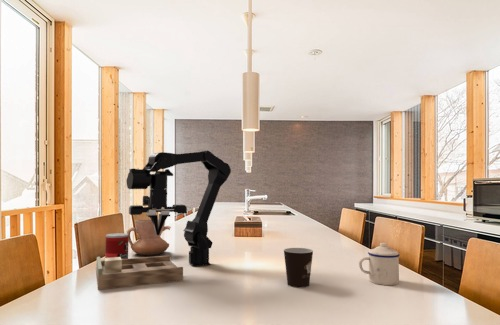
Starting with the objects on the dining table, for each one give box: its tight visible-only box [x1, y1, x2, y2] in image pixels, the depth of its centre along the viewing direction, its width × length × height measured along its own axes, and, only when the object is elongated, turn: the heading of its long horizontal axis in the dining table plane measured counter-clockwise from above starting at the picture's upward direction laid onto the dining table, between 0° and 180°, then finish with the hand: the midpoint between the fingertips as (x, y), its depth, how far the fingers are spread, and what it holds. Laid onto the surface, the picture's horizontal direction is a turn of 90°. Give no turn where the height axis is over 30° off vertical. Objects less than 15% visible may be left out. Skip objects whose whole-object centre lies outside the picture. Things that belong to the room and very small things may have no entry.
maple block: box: [104, 257, 122, 274], centre depth 110 cm, size 4×4×4 cm
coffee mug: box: [283, 247, 314, 288], centre depth 110 cm, size 12×9×10 cm
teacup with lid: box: [358, 242, 400, 286], centre depth 113 cm, size 12×9×12 cm
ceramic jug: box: [126, 218, 172, 256], centre depth 155 cm, size 18×14×14 cm
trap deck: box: [95, 255, 184, 291], centre depth 117 cm, size 24×20×6 cm
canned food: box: [104, 232, 129, 259], centre depth 133 cm, size 8×8×11 cm
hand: (157, 235), depth 126 cm, fingers closed
